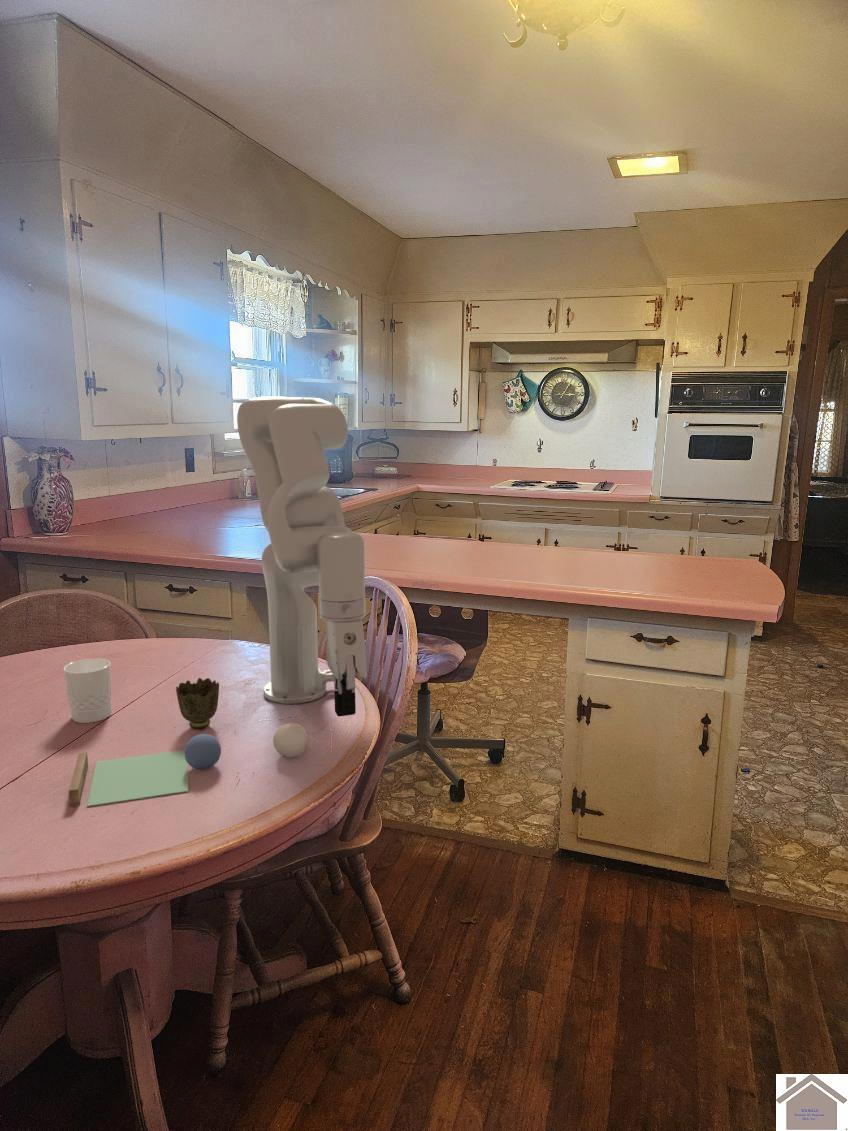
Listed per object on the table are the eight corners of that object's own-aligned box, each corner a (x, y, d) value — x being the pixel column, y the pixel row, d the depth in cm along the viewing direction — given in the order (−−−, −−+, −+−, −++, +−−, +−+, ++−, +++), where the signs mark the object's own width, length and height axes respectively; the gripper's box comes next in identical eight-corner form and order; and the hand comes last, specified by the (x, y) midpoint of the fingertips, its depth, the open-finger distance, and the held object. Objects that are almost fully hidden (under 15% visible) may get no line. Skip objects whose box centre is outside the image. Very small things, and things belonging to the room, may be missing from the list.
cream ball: (304, 745, 124) (304, 715, 123) (310, 760, 119) (309, 729, 118) (271, 750, 123) (270, 719, 121) (276, 765, 117) (275, 733, 116)
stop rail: (88, 766, 116) (86, 752, 116) (79, 804, 105) (78, 789, 105) (80, 767, 116) (78, 753, 115) (70, 806, 105) (68, 790, 104)
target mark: (186, 750, 122) (186, 749, 122) (188, 791, 109) (188, 790, 109) (96, 762, 118) (96, 761, 118) (87, 807, 105) (87, 805, 105)
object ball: (220, 757, 120) (219, 726, 119) (222, 773, 115) (221, 740, 114) (185, 762, 118) (183, 730, 117) (185, 778, 113) (183, 745, 112)
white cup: (97, 726, 131) (92, 674, 129) (58, 722, 132) (53, 671, 130) (123, 709, 138) (119, 660, 136) (86, 705, 140) (82, 656, 138)
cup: (182, 739, 126) (179, 696, 125) (175, 722, 133) (172, 681, 131) (225, 730, 130) (223, 689, 128) (216, 715, 136) (214, 675, 134)
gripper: (376, 616, 112) (378, 727, 116) (354, 596, 126) (356, 696, 130) (329, 620, 110) (332, 734, 113) (311, 599, 124) (315, 701, 127)
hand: (345, 713), depth 122 cm, fingers closed
